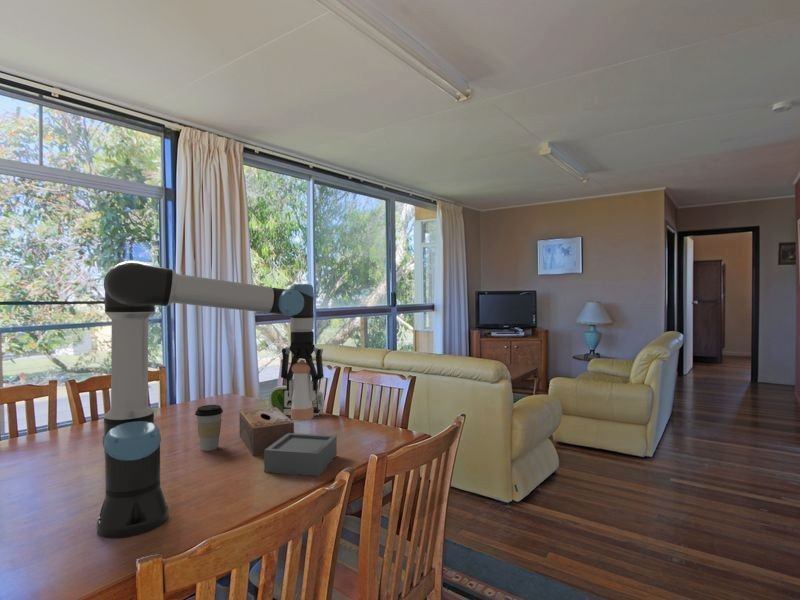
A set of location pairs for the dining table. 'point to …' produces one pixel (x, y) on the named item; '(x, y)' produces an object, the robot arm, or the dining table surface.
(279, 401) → the cutout
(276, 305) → the robot arm
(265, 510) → the dining table surface
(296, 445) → the tray
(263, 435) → the tissue box cover
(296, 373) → the salt shaker
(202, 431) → the coffee cup
